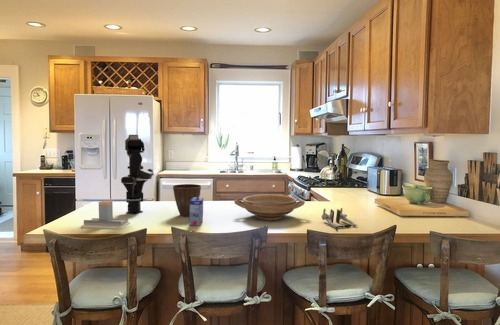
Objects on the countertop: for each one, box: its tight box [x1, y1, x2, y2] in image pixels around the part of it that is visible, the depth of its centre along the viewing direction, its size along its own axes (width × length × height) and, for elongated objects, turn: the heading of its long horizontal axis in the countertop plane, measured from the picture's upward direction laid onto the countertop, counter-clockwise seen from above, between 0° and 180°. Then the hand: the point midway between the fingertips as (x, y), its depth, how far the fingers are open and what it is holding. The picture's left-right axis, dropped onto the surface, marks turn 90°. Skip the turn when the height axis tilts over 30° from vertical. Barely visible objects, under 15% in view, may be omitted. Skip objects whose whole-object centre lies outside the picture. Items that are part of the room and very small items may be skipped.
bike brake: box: [321, 207, 358, 232], centre depth 175 cm, size 14×7×20 cm
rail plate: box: [80, 217, 131, 230], centre depth 174 cm, size 11×19×3 cm, turn 82°
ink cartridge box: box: [189, 193, 204, 227], centre depth 178 cm, size 10×6×14 cm, turn 179°
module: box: [98, 200, 114, 221], centre depth 174 cm, size 4×4×10 cm
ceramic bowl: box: [233, 193, 305, 221], centre depth 192 cm, size 37×29×10 cm
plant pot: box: [172, 183, 202, 217], centre depth 197 cm, size 15×15×16 cm
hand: (135, 195), depth 181 cm, fingers open, 9 cm apart
